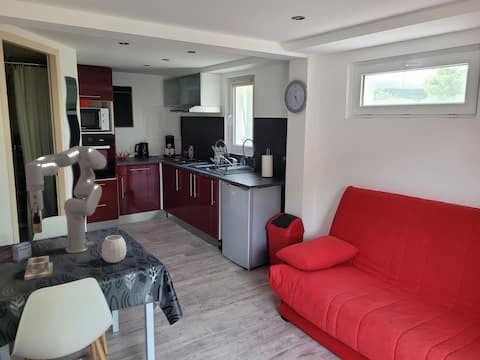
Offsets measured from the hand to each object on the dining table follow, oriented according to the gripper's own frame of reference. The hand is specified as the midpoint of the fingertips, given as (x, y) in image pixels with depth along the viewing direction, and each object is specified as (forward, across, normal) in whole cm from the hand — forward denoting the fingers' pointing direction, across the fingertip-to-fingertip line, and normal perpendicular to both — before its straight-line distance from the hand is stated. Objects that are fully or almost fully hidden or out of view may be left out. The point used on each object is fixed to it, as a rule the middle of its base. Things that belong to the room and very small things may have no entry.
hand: (37, 222), depth 180 cm
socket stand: (+26, -2, 0) cm, 26 cm away
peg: (+5, 0, 0) cm, 5 cm away
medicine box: (+26, +20, +10) cm, 34 cm away
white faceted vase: (+25, -1, -37) cm, 45 cm away
